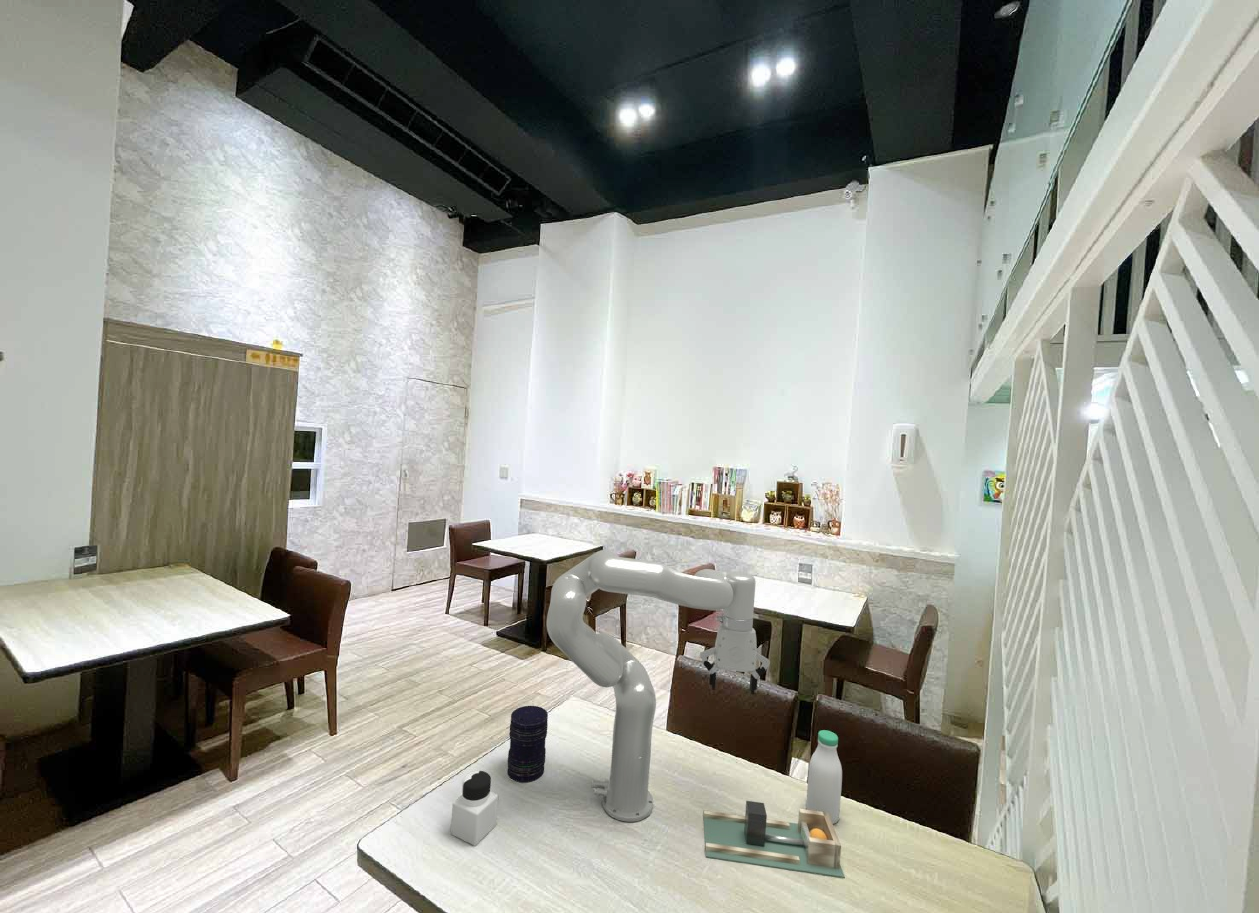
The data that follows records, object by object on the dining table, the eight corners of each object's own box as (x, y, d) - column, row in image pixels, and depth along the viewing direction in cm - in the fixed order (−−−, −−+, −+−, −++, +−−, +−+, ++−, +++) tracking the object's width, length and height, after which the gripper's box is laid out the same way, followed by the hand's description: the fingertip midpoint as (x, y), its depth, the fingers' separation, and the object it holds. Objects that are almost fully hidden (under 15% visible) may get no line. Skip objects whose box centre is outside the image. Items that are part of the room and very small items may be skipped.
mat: (705, 857, 109) (706, 856, 109) (703, 811, 123) (703, 810, 123) (844, 878, 106) (844, 876, 106) (825, 828, 120) (825, 827, 120)
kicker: (746, 847, 112) (749, 816, 112) (743, 827, 118) (745, 797, 118) (811, 856, 111) (814, 825, 111) (805, 835, 117) (807, 806, 116)
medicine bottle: (497, 825, 114) (500, 773, 114) (475, 847, 108) (478, 791, 107) (472, 813, 117) (475, 762, 117) (449, 834, 111) (453, 780, 110)
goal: (808, 864, 109) (809, 841, 109) (797, 829, 119) (799, 808, 119) (839, 868, 108) (841, 845, 108) (826, 833, 118) (827, 812, 118)
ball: (831, 840, 111) (827, 857, 111) (826, 827, 115) (822, 843, 115) (813, 834, 112) (809, 852, 112) (808, 821, 116) (804, 838, 116)
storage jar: (527, 754, 141) (530, 701, 140) (552, 769, 135) (556, 714, 135) (498, 771, 133) (502, 715, 132) (524, 788, 127) (528, 729, 127)
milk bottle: (842, 828, 120) (848, 746, 120) (808, 821, 122) (814, 740, 122) (835, 806, 128) (841, 728, 128) (803, 800, 129) (809, 723, 129)
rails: (705, 850, 111) (706, 846, 111) (703, 814, 121) (703, 810, 121) (799, 864, 108) (799, 859, 108) (788, 826, 119) (788, 822, 119)
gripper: (703, 624, 124) (698, 692, 124) (775, 631, 122) (769, 701, 122) (702, 614, 131) (697, 679, 132) (769, 621, 129) (764, 686, 130)
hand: (732, 689), depth 127 cm, fingers open, 9 cm apart
